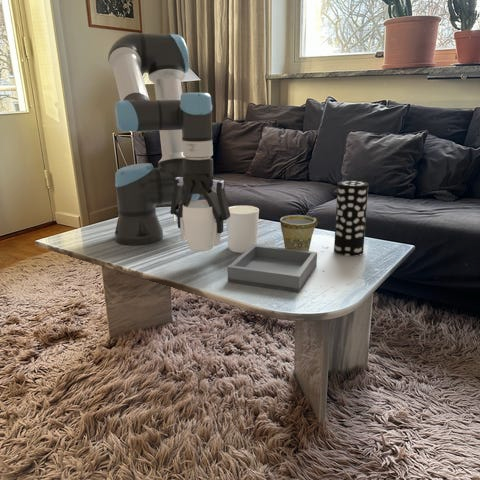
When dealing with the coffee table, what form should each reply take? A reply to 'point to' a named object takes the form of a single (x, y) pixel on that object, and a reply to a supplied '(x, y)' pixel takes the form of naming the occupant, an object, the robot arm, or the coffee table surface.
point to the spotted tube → (350, 217)
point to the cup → (199, 225)
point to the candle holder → (242, 228)
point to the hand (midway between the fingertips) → (200, 242)
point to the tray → (273, 268)
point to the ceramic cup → (297, 231)
